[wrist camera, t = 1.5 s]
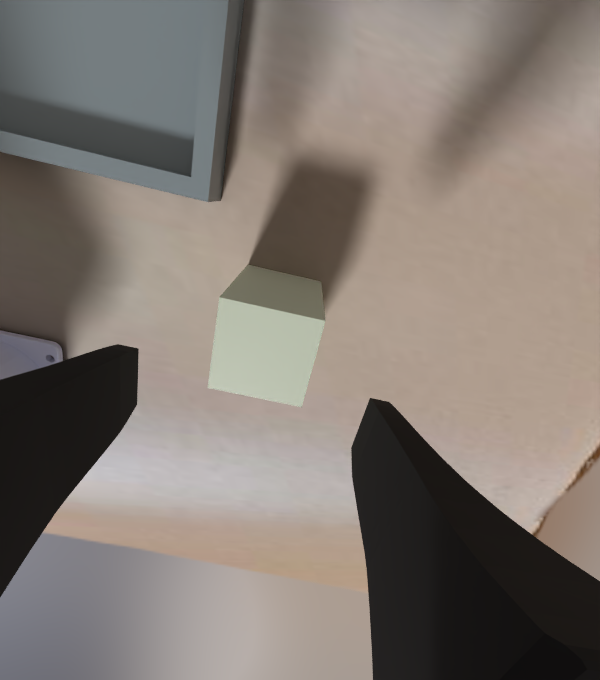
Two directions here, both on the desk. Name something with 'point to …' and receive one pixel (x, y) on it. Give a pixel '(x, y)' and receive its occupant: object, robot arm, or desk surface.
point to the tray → (122, 88)
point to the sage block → (267, 335)
